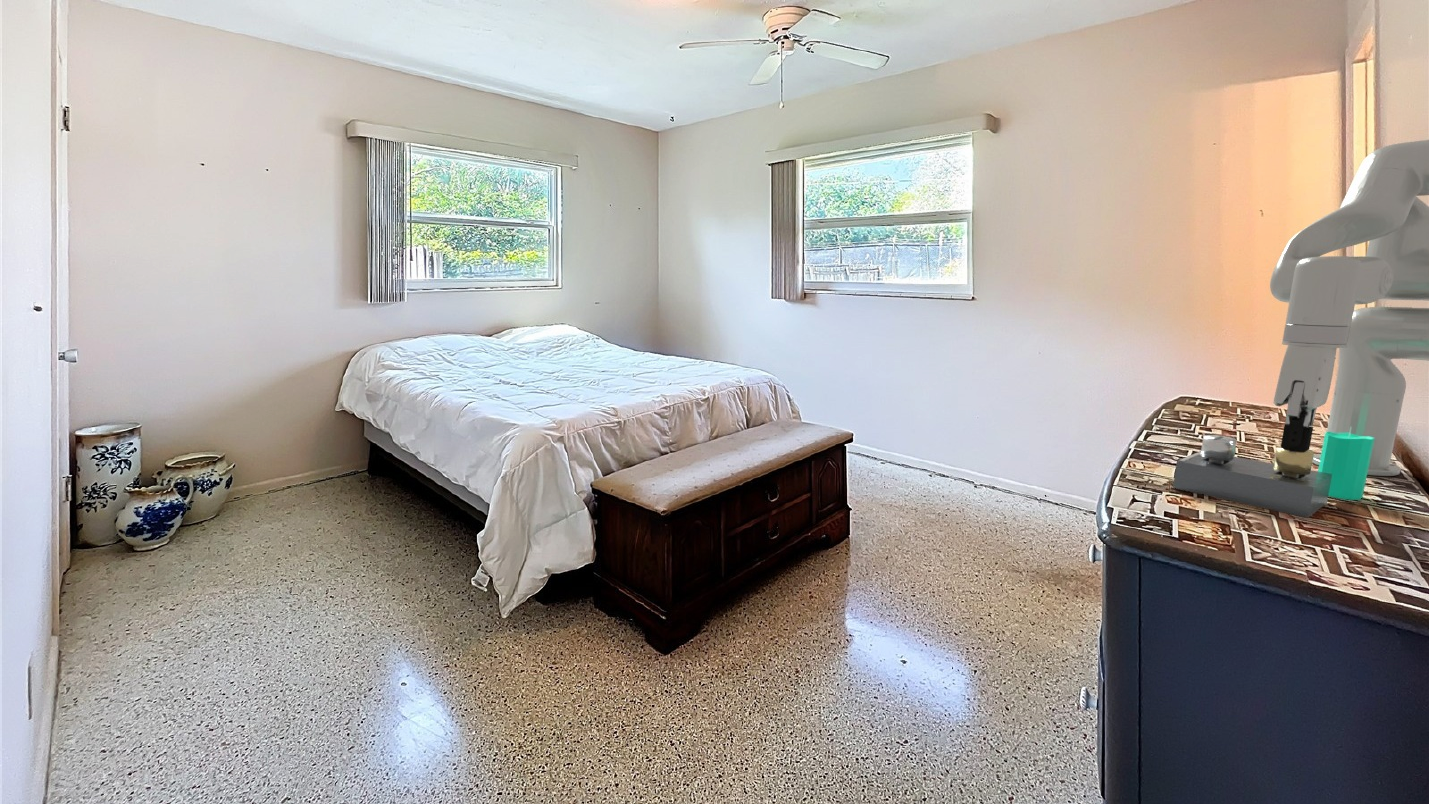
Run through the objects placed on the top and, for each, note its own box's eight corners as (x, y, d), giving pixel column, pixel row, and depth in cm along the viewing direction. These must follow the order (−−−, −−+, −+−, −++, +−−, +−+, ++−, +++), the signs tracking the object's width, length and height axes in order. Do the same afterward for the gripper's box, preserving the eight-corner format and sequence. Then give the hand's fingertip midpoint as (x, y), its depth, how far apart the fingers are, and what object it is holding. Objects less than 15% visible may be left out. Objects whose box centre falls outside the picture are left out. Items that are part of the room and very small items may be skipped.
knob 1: (1202, 475, 116) (1208, 433, 114) (1233, 482, 112) (1240, 438, 111) (1192, 480, 113) (1199, 436, 112) (1224, 486, 110) (1231, 441, 108)
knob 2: (1272, 490, 108) (1280, 444, 107) (1308, 497, 104) (1317, 450, 103) (1264, 495, 105) (1272, 448, 104) (1301, 502, 102) (1310, 454, 100)
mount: (1197, 476, 120) (1201, 450, 119) (1326, 503, 105) (1332, 473, 104) (1172, 488, 113) (1176, 460, 112) (1307, 518, 98) (1313, 486, 97)
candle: (1372, 501, 107) (1386, 431, 104) (1330, 498, 108) (1343, 429, 106) (1345, 489, 112) (1358, 423, 110) (1305, 487, 114) (1317, 422, 111)
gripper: (1296, 333, 107) (1277, 439, 111) (1270, 336, 99) (1251, 451, 102) (1358, 336, 101) (1336, 448, 105) (1336, 340, 93) (1313, 461, 96)
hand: (1294, 449), depth 103 cm, fingers closed
